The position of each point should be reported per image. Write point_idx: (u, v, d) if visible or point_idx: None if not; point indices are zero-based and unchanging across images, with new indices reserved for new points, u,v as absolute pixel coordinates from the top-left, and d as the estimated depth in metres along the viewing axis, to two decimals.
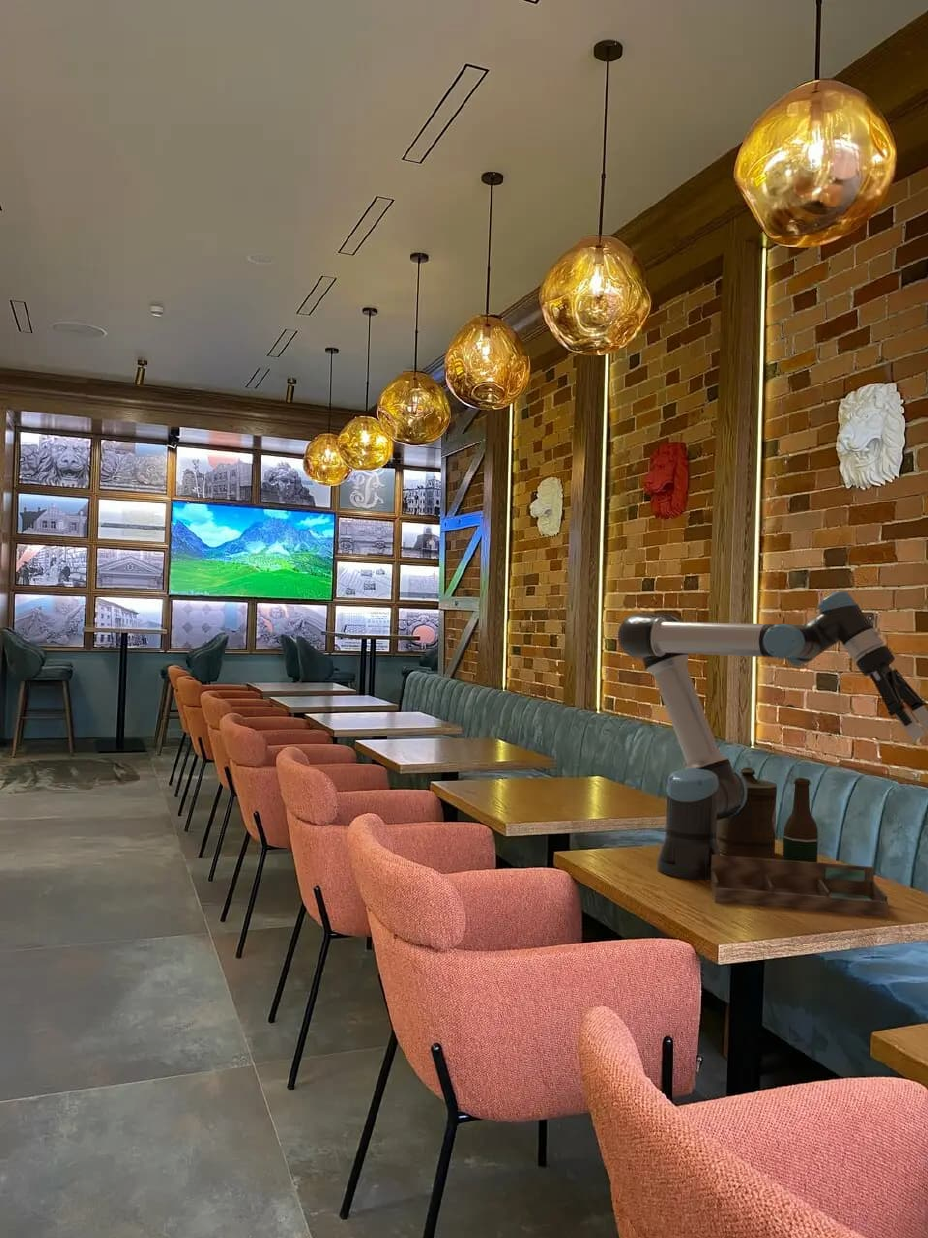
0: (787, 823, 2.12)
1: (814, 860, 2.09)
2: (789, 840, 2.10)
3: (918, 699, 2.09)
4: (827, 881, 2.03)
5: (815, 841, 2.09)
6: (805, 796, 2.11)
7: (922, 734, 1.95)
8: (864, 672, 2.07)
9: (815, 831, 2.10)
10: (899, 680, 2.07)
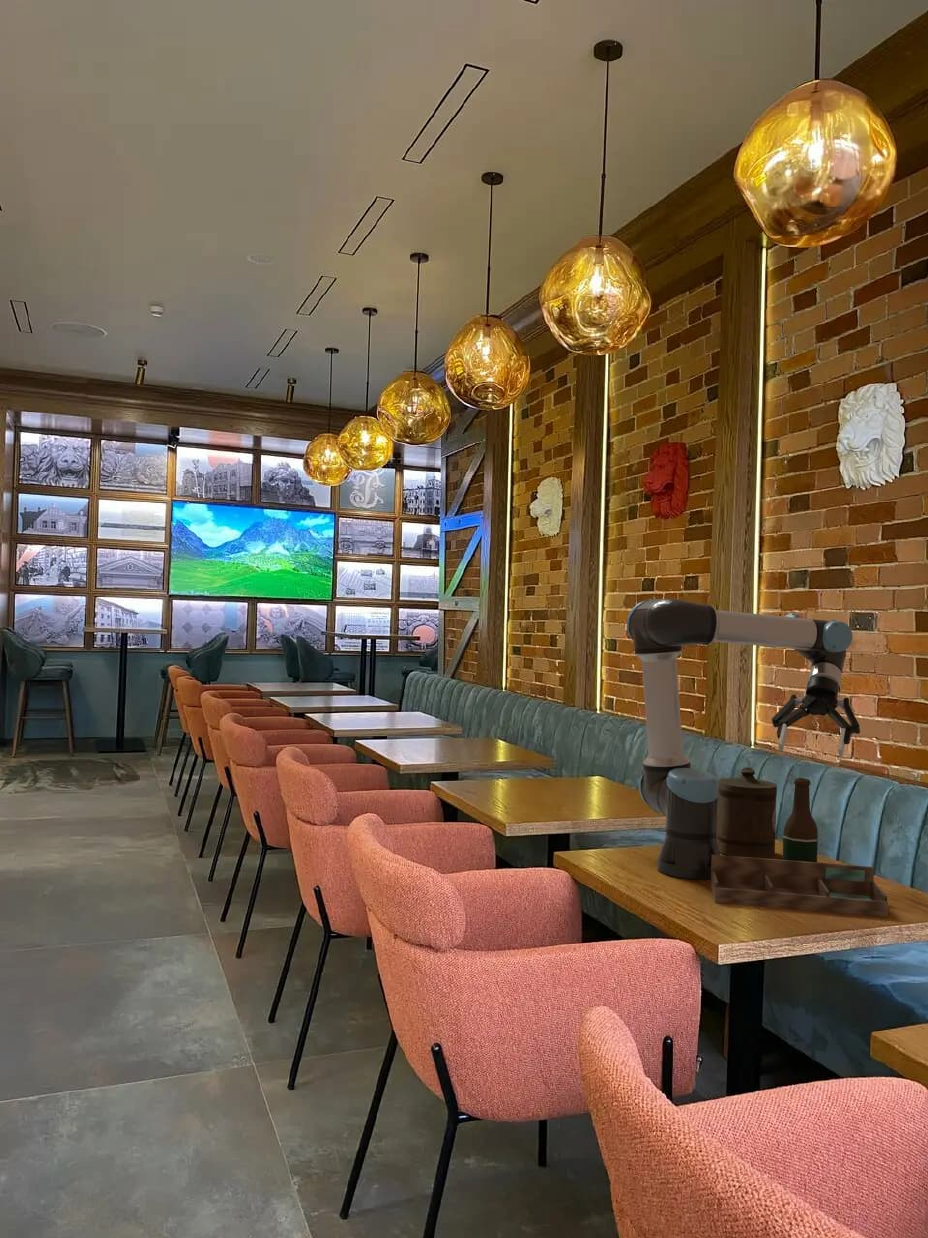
0: (787, 823, 2.12)
1: (814, 860, 2.09)
2: (789, 840, 2.10)
3: None
4: (827, 881, 2.03)
5: (815, 841, 2.09)
6: (805, 796, 2.11)
7: (842, 754, 2.20)
8: (830, 687, 2.31)
9: (815, 831, 2.10)
10: None
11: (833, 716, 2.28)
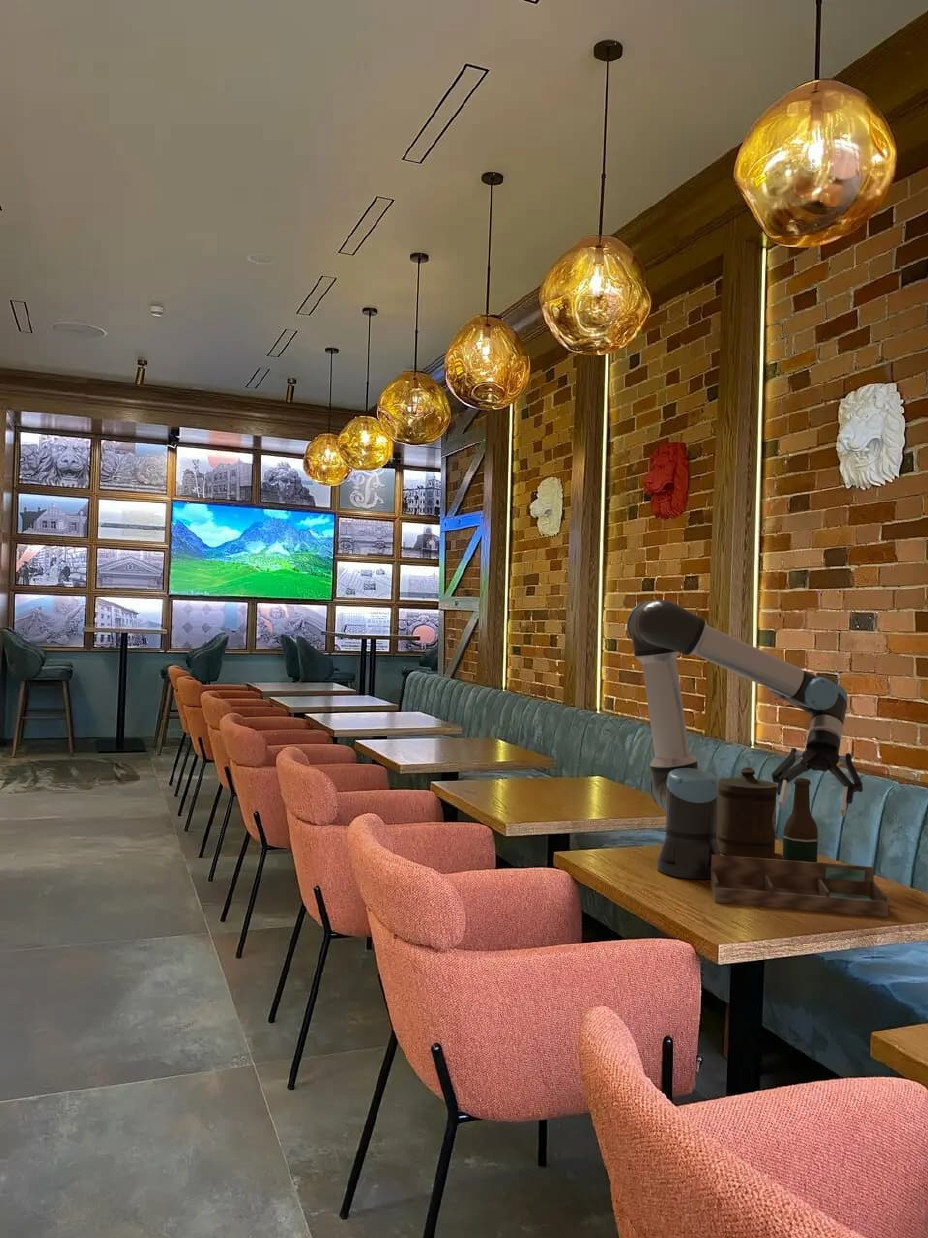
0: (787, 823, 2.12)
1: (814, 860, 2.09)
2: (789, 840, 2.10)
3: None
4: (827, 881, 2.03)
5: (815, 841, 2.09)
6: (805, 796, 2.11)
7: None
8: (832, 742, 2.24)
9: (815, 831, 2.10)
10: None
11: (835, 773, 2.21)
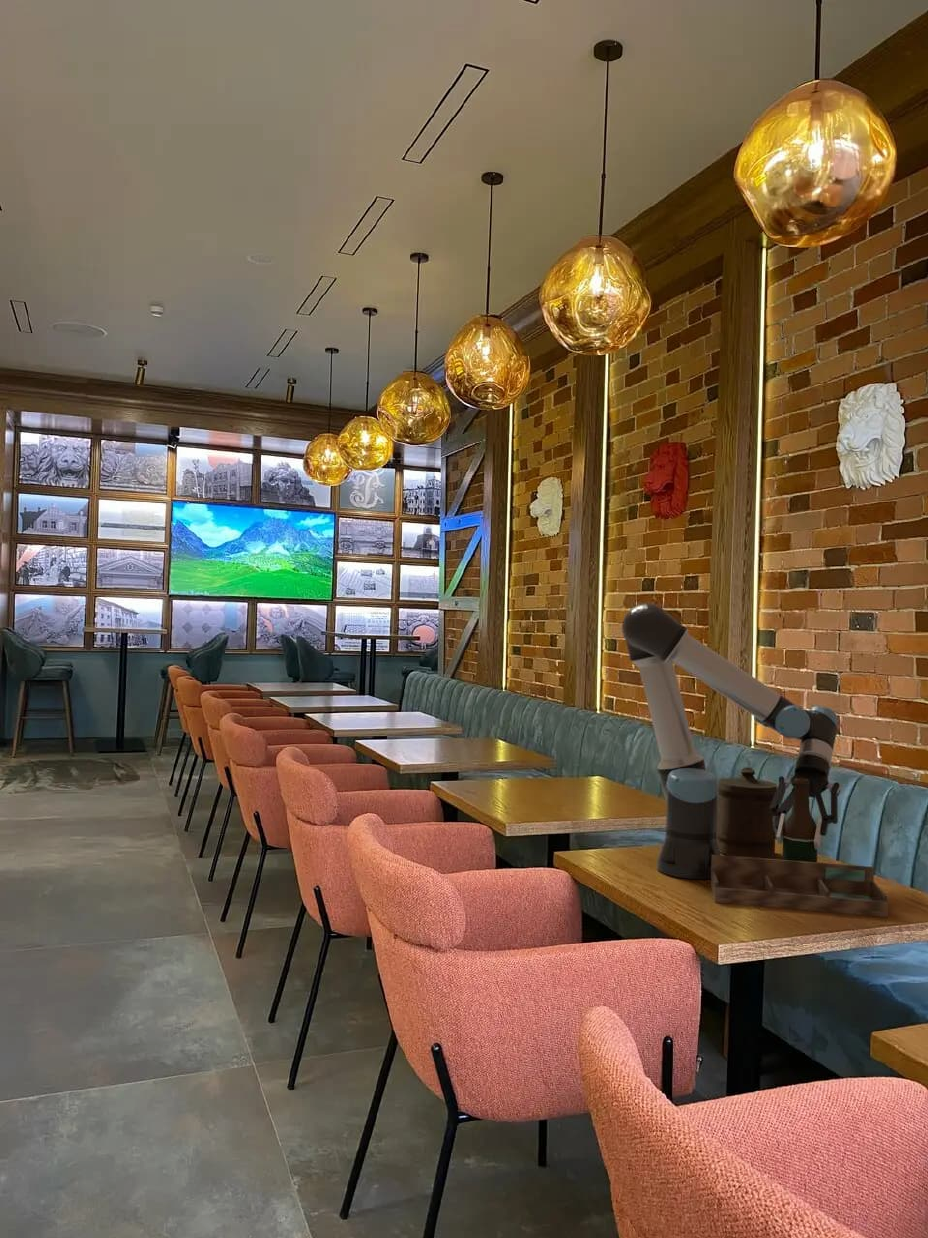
0: (787, 823, 2.12)
1: (814, 860, 2.09)
2: (789, 840, 2.10)
3: None
4: (827, 881, 2.03)
5: None
6: (804, 796, 2.11)
7: (818, 847, 2.08)
8: (821, 767, 2.18)
9: (815, 831, 2.10)
10: None
11: (816, 800, 2.15)
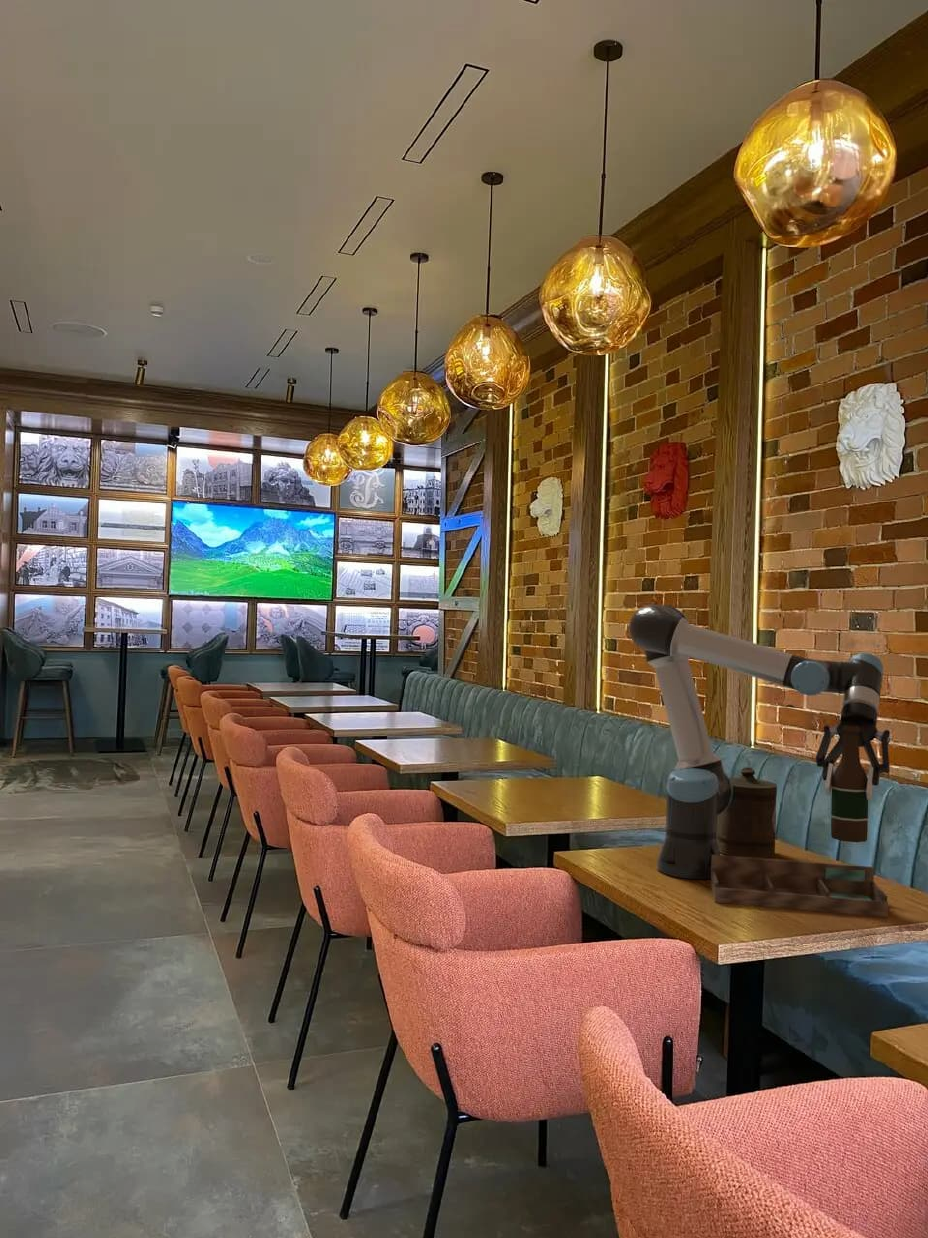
0: (836, 773, 1.99)
1: (866, 811, 1.97)
2: (839, 791, 1.98)
3: None
4: (827, 881, 2.03)
5: None
6: (854, 743, 1.98)
7: None
8: (869, 715, 2.06)
9: (866, 781, 1.97)
10: None
11: (866, 749, 2.03)
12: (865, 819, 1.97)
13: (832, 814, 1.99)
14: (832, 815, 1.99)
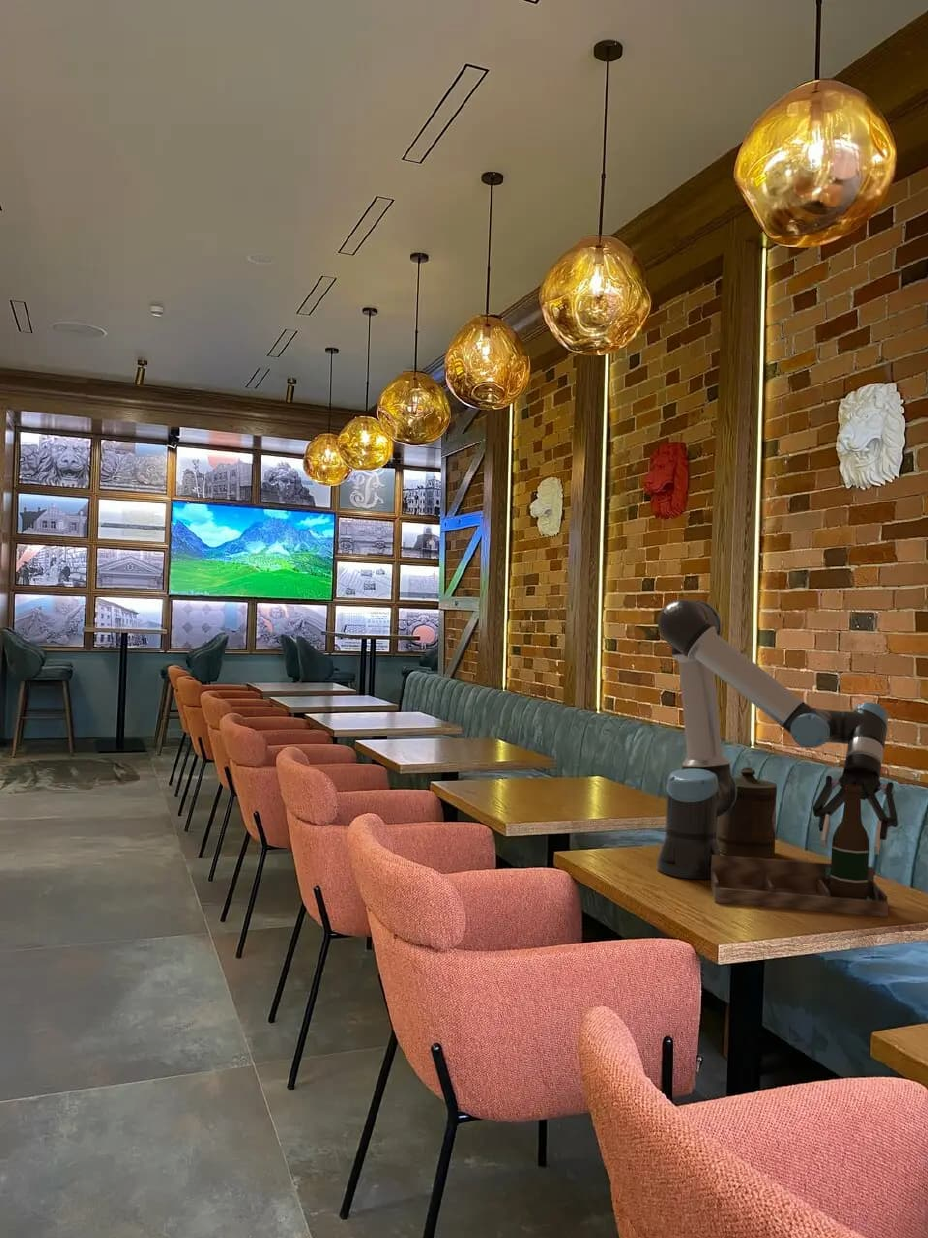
0: (836, 833, 1.97)
1: (866, 873, 1.94)
2: (839, 851, 1.95)
3: (826, 814, 2.03)
4: (827, 881, 2.03)
5: (867, 853, 1.94)
6: (856, 804, 1.96)
7: (878, 852, 1.92)
8: (872, 767, 2.03)
9: (867, 842, 1.94)
10: None
11: (871, 803, 2.00)
12: (865, 881, 1.94)
13: (831, 874, 1.97)
14: (831, 875, 1.97)
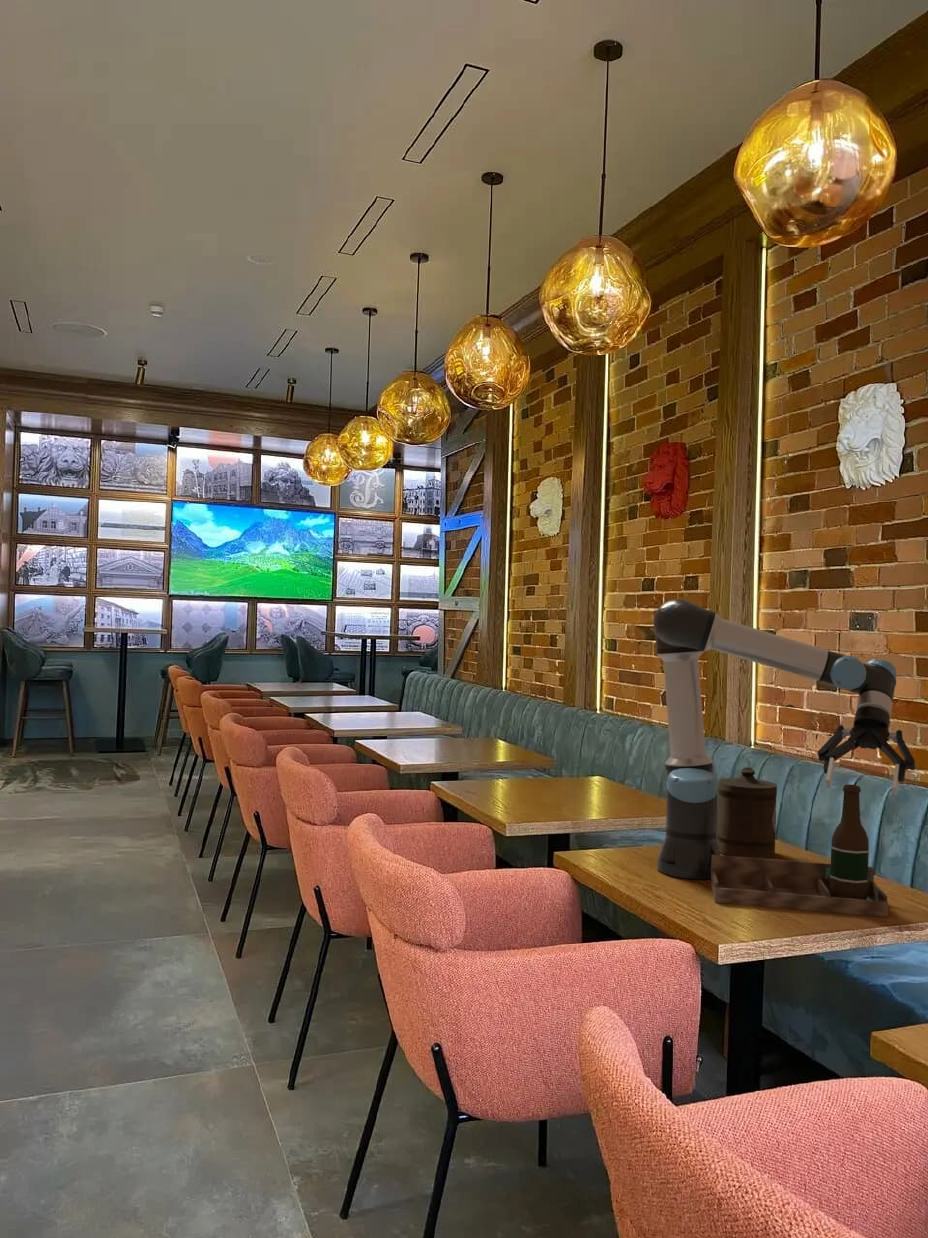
0: (835, 833, 1.97)
1: (865, 873, 1.94)
2: (838, 852, 1.95)
3: None
4: (827, 881, 2.03)
5: (866, 853, 1.94)
6: (855, 804, 1.96)
7: (896, 793, 2.03)
8: (881, 719, 2.14)
9: (866, 842, 1.95)
10: None
11: (885, 750, 2.10)
12: (864, 881, 1.94)
13: (831, 874, 1.97)
14: (831, 875, 1.97)
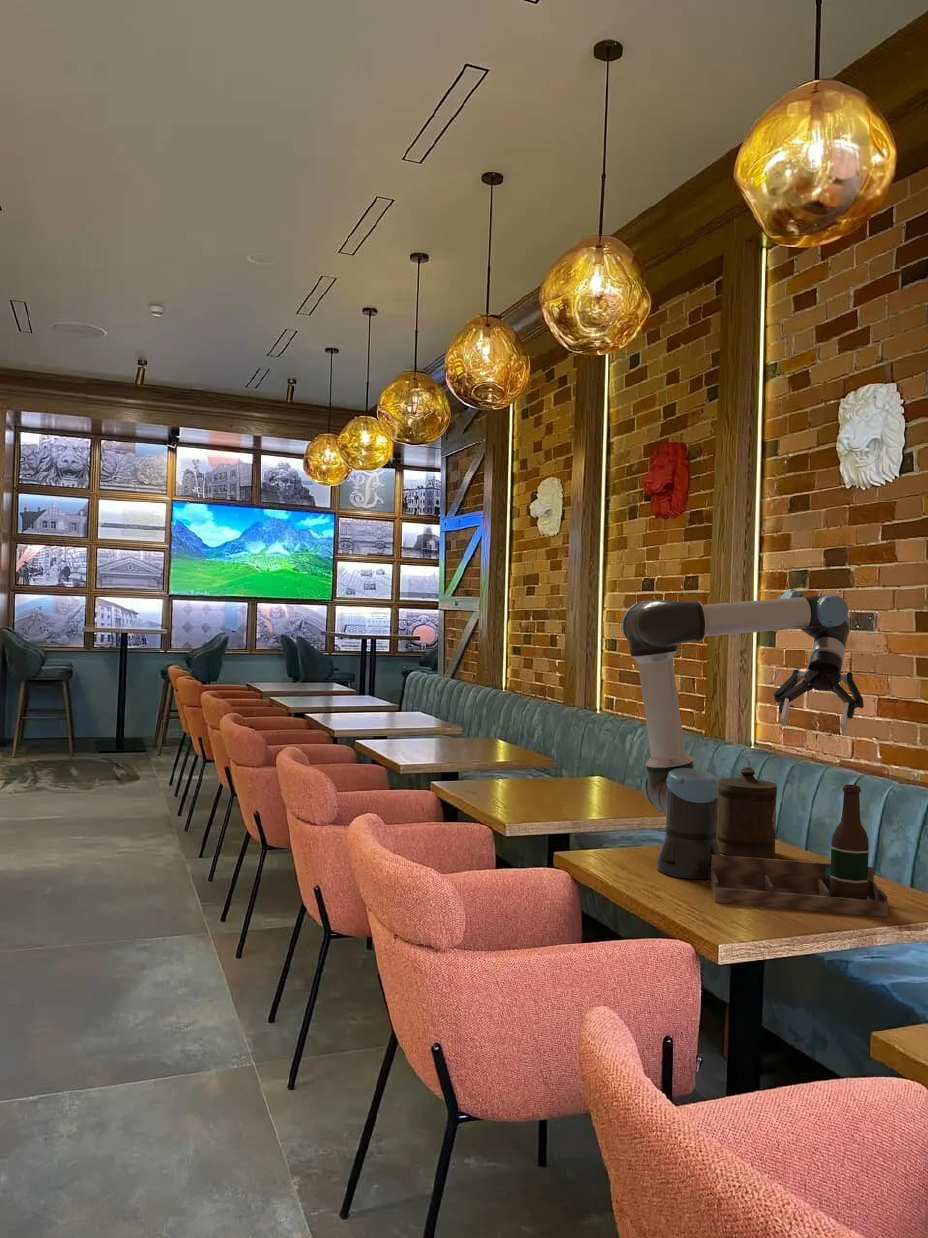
0: (835, 833, 1.97)
1: (865, 873, 1.94)
2: (838, 852, 1.95)
3: None
4: (827, 881, 2.03)
5: (866, 853, 1.94)
6: (855, 804, 1.96)
7: (845, 729, 2.17)
8: (833, 662, 2.28)
9: (866, 842, 1.95)
10: None
11: (836, 690, 2.24)
12: (864, 881, 1.94)
13: (831, 874, 1.97)
14: (831, 875, 1.97)
